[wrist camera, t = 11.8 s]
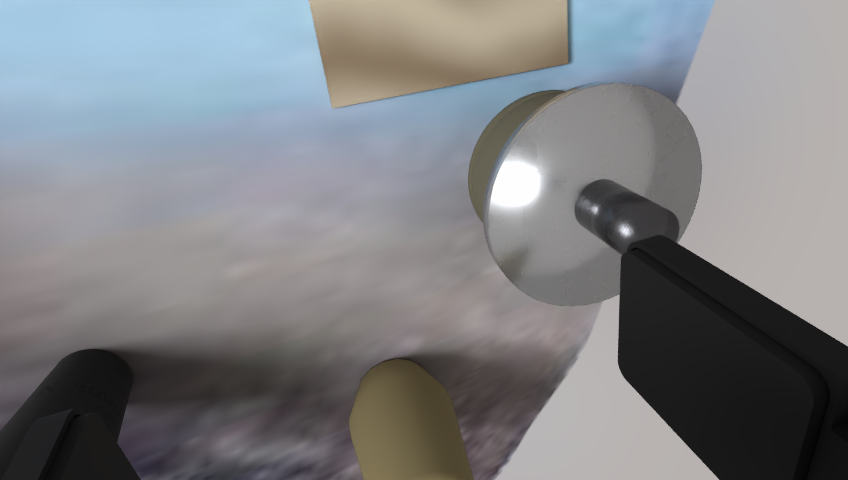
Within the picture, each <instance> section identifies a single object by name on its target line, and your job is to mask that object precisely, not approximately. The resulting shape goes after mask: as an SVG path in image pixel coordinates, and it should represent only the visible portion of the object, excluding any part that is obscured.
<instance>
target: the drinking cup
mask: <svg viewBox="0 0 848 480" xmlns="http://www.w3.org/2000/svg"><path fill="white" fill-rule="evenodd" d="M132 381H133V378H132V373H131V370H130V368H129V367H128V365H127V364H126V363H125V362H124V361H123V360H122V359H121V358H119V357H118V356H116V355H114V354H112V353H109V352H106V351H101V350H82V351H78V352H75V353H72V354H70V355H68V356H66V357H65V358H63V359H62V360H61V361H60V362H59V363H58V364H57V365H56V367H55V368H54V369H53V370H52V371H51V372H50V374H49V375H48V376H47V377H46V378H45V379H44V381H43V382H42V383H41V384H40V385H39V386H38V388H37V389H36V390H35V391H34V392H33V394H32V395H31V396H30V397H29V398H28V399H27V401H26V402H25V403H24V404H23V405H22V406H21V408H20V409H19V410H18V411H17V412H16V413H15V415H14V416H13V417H12V418H11V419H10V420H9V422H8V423H7V424H6V425H5V426H4V427H3V429H2V430H1V431H0V480H1V479H2V477H3V475H4V474H5V472H6V470H7V468H8V466H9V464H10V462H11V461H12V459H13V457H14V455H15V453H16V451H17V450H18V448H19V446H20V444H21V442H22V440H23V438H24V437H25V435H26V433H27V431H28V429H29V427H30V426H31V425H32V423H33V422H34V421H36V420H37V419H39V418H43V417H46V416H49V415H53V414H56V413H60V412H63V411H66V410H70V409H73V408H82V409H83V410H85V411H86V412H87V413H88V414H89V413H97V414H98V415H99V416H100V417H101V418H102V420H103V421H104V423H105V425H106V426H107V428H108V429H109V431H110V432H111V434H112V436H113V437H114V439H115V440H116V442H117V441H118V437H119V433H120V429H121V425H122V421H123V417H124V414H125V410H126V406H127V402H128V398H129V394H130V390H131V386H132Z"/></svg>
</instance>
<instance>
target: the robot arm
mask: <svg viewBox="0 0 848 480" xmlns="http://www.w3.org/2000/svg"><path fill="white" fill-rule="evenodd" d="M619 306H620V307H619V339H618V365H619V368H620V371H621V373H622V375H623V376H624V378H625V379H626V380H627V381H628V382H629V384H630V385H631V386H632V387H633V388H634V389H635V390H636V391H637V392H638V393H639V394H640V395H641V396H642V397H643V399H644V400H645V401H646V402H647V403H648V404H649V405H650V406H651V407H652V408H653V409H654V410H655V411H656V412H657V413H658V414H659V415H660V417H661V418H662V419H663V420H664V421H665V422H666V423H667V424H668V425H669V426H670V427H671V428H672V429H673V431H674V432H675V433H676V434H677V435H678V436H679V437H680V438H681V439H682V440H683V441H684V442H685V443H686V444H687V445H688V447H689V448H690V449H691V450H692V451H693V452H694V453H695V454H696V455H697V456H698V457H699V458H700V459H701V460H702V462H703V463H704V464H705V465H706V466H707V467H708V468H709V469H710V470H711V471H712V472H713V473H714V474H715V475H716V476H717V478H718V479H719V480H848V346H846V345H844V344H843V343H841V342H840V341H838V340H836V339H835V338H833V337H831V336H830V335H828V334H826V333H825V332H823V331H821V330H820V329H818V328H816V327H815V326H813V325H811V324H810V323H808V322H806V321H805V320H803V319H801V318H800V317H798V316H797V315H795V314H793V313H792V312H790V311H788V310H787V309H785V308H783V307H782V306H780V305H778V304H777V303H775V302H773V301H772V300H770V299H768V298H767V297H765V296H763V295H762V294H760V293H759V292H757V291H755V290H754V289H752V288H750V287H749V286H747V285H745V284H744V283H742V282H740V281H739V280H737V279H735V278H734V277H732V276H730V275H729V274H727V273H725V272H724V271H722V270H720V269H719V268H717V267H715V266H714V265H712V264H711V263H709V262H707V261H705V260H704V259H702V258H700V257H699V256H697V255H696V254H694V253H692V252H691V251H689V250H687V249H686V248H684V247H682V246H681V245H679V244H678V243H676V242H674V241H673V240H671V239H669V238H668V237H666V236H663V235H655V236H652V237H649V238H645V239H642V240H638V241H635V242H632V243H631V244H629V246H628V248H627V252H625V253H624V254H623V255H622V257H621V269H620V305H619ZM1 480H140V478H139V477H138V475H137V473H136V472H135V470H134V469H133V467H132V465H131V464H130V462H129V461H128V459H127V458H126V456H125V454H124V453H123V451H122V450H121V448H120V447H119V445H118V443H117V442H116V440H115V439H114V437H113V436H112V434H111V432H110V431H109V429H108V428H107V426H106V425H105V423H104V421H103V420H102V418H101V417H100V416H99V415H98V414H97V413H89V414H88V413H87V412H86V411H85V410H83V409H82V408H73V409H70V410H66V411H63V412H60V413H56V414H53V415H49V416H46V417H43V418H39V419H37V420H36V421H34V422H33V423H32V425H31V426H30V427H29V429H28V431H27V433H26V435H25V437H24V438H23V440H22V442H21V444H20V446H19V448H18V450H17V451H16V453H15V455H14V457H13V459H12V461H11V462H10V464H9V466H8V468H7V470H6V472H5V474H4V475H3V477H2V479H1Z"/></svg>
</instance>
